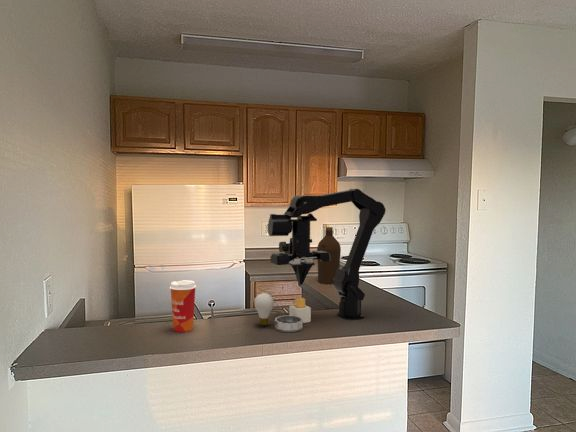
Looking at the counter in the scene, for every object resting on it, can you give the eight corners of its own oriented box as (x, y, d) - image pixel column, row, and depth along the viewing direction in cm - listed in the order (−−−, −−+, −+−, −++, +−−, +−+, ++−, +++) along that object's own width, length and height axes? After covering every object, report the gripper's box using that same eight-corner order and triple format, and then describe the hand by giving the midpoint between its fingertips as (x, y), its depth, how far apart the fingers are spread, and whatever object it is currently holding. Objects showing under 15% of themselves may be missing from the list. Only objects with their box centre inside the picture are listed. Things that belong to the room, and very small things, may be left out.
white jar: (303, 317, 138) (303, 303, 138) (310, 321, 134) (310, 306, 134) (289, 319, 136) (289, 304, 136) (296, 323, 132) (296, 308, 131)
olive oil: (340, 285, 187) (341, 228, 185) (316, 284, 188) (317, 228, 186) (339, 280, 198) (340, 226, 196) (316, 279, 198) (317, 226, 197)
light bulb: (275, 323, 132) (276, 291, 131) (270, 329, 126) (270, 296, 125) (257, 321, 133) (258, 290, 133) (251, 327, 127) (251, 294, 127)
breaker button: (301, 307, 136) (301, 297, 136) (305, 309, 134) (305, 299, 134) (294, 308, 135) (295, 298, 135) (298, 309, 133) (298, 299, 133)
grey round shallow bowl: (294, 322, 133) (294, 314, 133) (307, 330, 126) (307, 321, 126) (270, 325, 130) (270, 317, 129) (282, 334, 122) (282, 325, 122)
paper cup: (165, 328, 126) (165, 281, 125) (189, 323, 131) (188, 278, 130) (177, 335, 120) (176, 286, 119) (201, 330, 125) (201, 283, 124)
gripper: (314, 232, 145) (313, 277, 146) (263, 234, 136) (263, 282, 137) (331, 235, 135) (330, 284, 136) (278, 237, 126) (277, 289, 127)
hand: (300, 284), depth 134 cm, fingers closed
